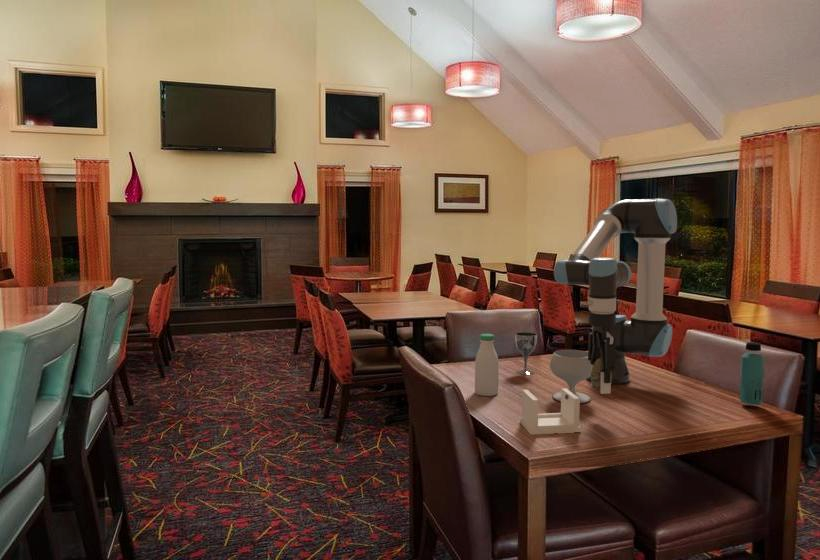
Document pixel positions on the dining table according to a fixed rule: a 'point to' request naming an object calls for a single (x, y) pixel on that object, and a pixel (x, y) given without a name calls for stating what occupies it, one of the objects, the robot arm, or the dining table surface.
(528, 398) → the holder
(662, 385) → the dining table surface
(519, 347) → the wine glass
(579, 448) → the dining table surface
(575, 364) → the chalice
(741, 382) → the beverage bottle
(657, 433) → the dining table surface
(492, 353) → the milk bottle
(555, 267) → the robot arm
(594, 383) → the decorative egg
